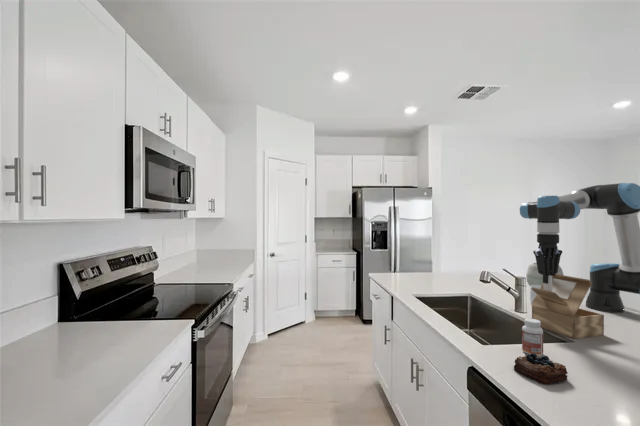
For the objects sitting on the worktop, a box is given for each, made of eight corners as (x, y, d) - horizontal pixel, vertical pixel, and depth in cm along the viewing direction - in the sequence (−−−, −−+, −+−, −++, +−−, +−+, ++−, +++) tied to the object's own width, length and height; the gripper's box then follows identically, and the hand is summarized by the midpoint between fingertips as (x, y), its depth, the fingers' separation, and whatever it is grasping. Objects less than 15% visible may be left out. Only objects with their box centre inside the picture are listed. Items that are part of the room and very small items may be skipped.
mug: (537, 308, 170) (537, 283, 170) (563, 313, 161) (563, 286, 162) (526, 314, 161) (526, 287, 161) (553, 319, 152) (553, 291, 152)
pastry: (545, 388, 92) (545, 366, 92) (507, 369, 103) (507, 350, 103) (573, 381, 95) (573, 361, 95) (533, 364, 107) (533, 345, 107)
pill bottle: (529, 348, 119) (529, 316, 119) (547, 354, 114) (547, 321, 114) (518, 350, 116) (518, 319, 116) (536, 357, 111) (536, 324, 111)
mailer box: (559, 321, 150) (559, 303, 150) (603, 335, 133) (603, 314, 133) (531, 324, 146) (531, 305, 146) (573, 338, 128) (573, 318, 128)
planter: (572, 312, 164) (572, 266, 164) (538, 312, 164) (539, 266, 164) (549, 303, 180) (550, 262, 180) (519, 303, 180) (519, 262, 181)
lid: (549, 275, 148) (536, 263, 146) (592, 282, 131) (578, 269, 129) (531, 305, 146) (518, 293, 144) (573, 317, 128) (559, 304, 126)
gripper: (551, 232, 142) (551, 288, 142) (527, 233, 138) (527, 290, 138) (569, 233, 135) (569, 292, 135) (544, 234, 131) (544, 294, 131)
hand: (547, 291), depth 137 cm, fingers closed
